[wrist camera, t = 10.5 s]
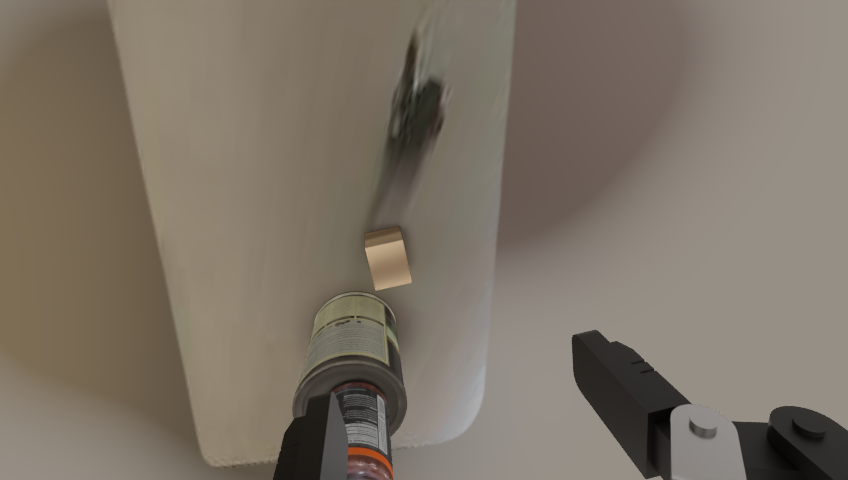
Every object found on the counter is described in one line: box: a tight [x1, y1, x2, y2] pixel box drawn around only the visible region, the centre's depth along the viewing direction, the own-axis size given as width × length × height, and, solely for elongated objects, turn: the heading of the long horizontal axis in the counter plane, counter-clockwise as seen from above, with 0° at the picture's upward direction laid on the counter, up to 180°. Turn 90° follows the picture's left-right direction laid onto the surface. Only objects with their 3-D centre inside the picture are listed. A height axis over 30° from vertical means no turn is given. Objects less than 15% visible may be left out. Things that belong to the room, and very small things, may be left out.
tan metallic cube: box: [365, 226, 412, 291], centre depth 43 cm, size 5×4×5 cm
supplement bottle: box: [331, 382, 393, 480], centre depth 30 cm, size 6×6×11 cm
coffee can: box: [293, 292, 407, 437], centre depth 42 cm, size 10×10×14 cm
